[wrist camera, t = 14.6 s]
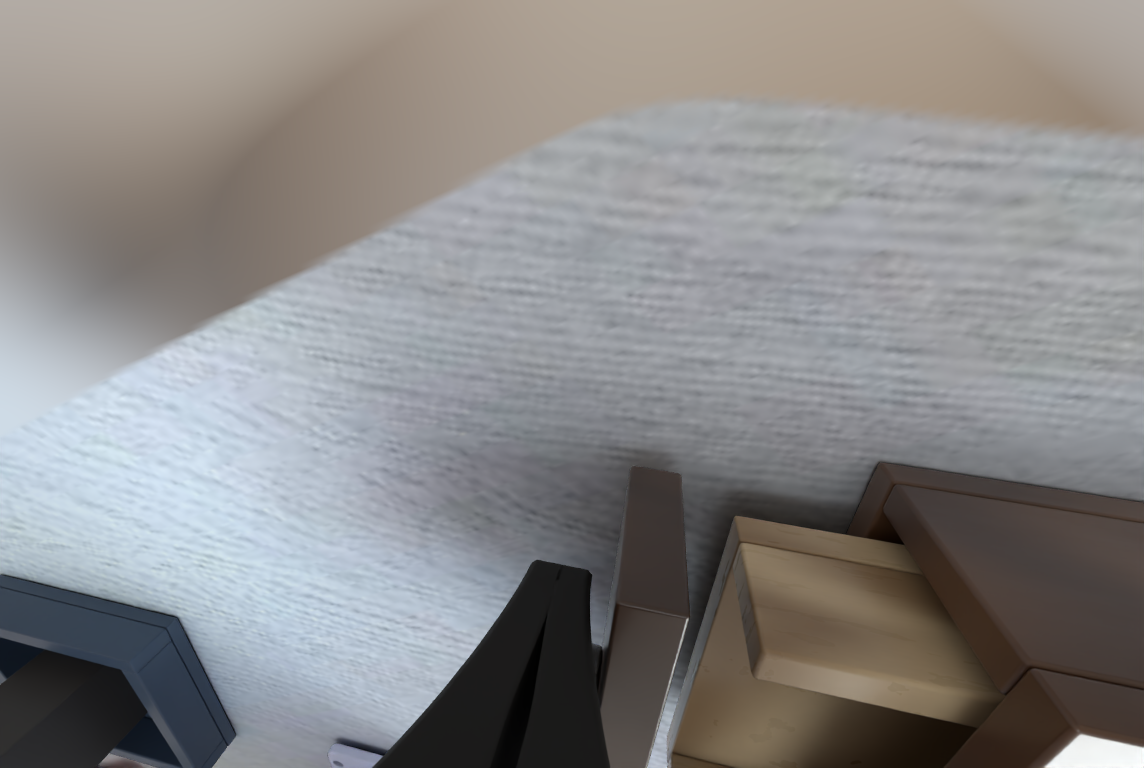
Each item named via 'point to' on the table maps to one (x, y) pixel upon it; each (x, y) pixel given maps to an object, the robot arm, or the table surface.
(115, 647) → the tray
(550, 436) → the table surface
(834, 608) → the drawer
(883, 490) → the cabinet
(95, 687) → the charcoal rectangular prism
